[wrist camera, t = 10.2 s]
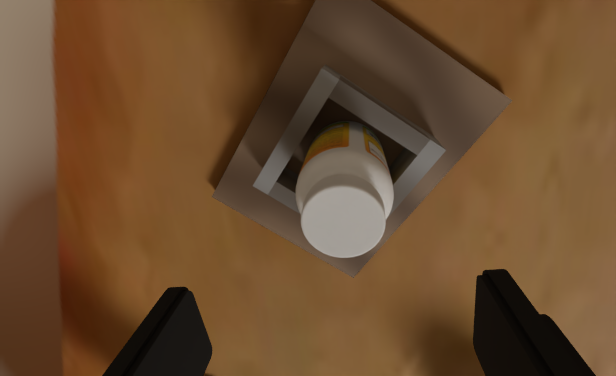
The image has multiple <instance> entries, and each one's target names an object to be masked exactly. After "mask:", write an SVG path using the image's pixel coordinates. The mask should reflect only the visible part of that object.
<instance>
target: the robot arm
mask: <svg viewBox="0 0 616 376" xmlns="http://www.w3.org/2000/svg"><path fill="white" fill-rule="evenodd" d="M473 344H474V349H475V352H476V355H477V357H478V359H479V361H480V364H481V366H482V368H483V371H484V373H485V375H486V376H596V375H595V374H594V373H593V371H592V370H591V369H590V368H589V366H588V365H587V364H586V362H585V361H584V360H583V359H582V357H581V356H580V355H579V353H578V352H577V351H576V349H575V348H574V347H573V346H572V344H571V343H570V342H569V340H568V339H567V338H566V336H565V335H564V334H563V333H562V331H561V330H560V329H559V327H558V326H557V325H556V324H555V322H554V321H553V320H552V319H551V318H550V317H549V316H547V315H546V314H539V313H538V312H537V311H536V309H535V308H534V306H533V305H532V304H531V302H530V301H529V300H528V298H527V297H526V296H525V294H524V293H523V292H522V290H521V289H520V288H519V286H518V285H517V283H516V282H515V281H514V279H513V278H512V277H511V275H510V274H509V273H508V271H507V270H505V269H496V270H484V271H483V274H482V275H478V276H477V281H476V298H475V316H474V333H473ZM211 356H212V345H211V343H210V340H209V337H208V334H207V331H206V329H205V326H204V323H203V320H202V317H201V315H200V312H199V309H198V306H197V304H196V301H195V298H194V295H193V293H192V292H191V291H189V290H188V288H186V287H170V288H168V289H167V290H166V291H165V292H164V293H163V295H162V296H161V297H160V299H159V300H158V301H157V303H156V304H155V306H154V307H153V308H152V310H151V311H150V312H149V314H148V315H147V316H146V318H145V319H144V320H143V322H142V323H141V324H140V326H139V327H138V328H137V330H136V331H135V332H134V334H133V335H132V336H131V338H130V339H129V340H128V342H127V343H126V345H125V346H124V347H123V349H122V350H121V351H120V353H119V354H118V355H117V357H116V358H115V359H114V361H113V362H112V363H111V365H110V366H109V367H108V369H107V370H106V371H105V373H104V374H103V375H102V376H203V375H204V373H205V370H206V368H207V366H208V364H209V361H210V359H211Z"/></svg>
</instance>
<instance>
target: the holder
mask: <svg viewBox="0 0 616 376" xmlns="http://www.w3.org/2000/svg"><path fill="white" fill-rule="evenodd" d="M511 101H512V100H511V99H509V98H508V97H507V96H505V95H504V94H502V93H501V92H500V91H498V90H497V89H495V88H494V87H492V86H491V85H490V84H488V83H487V82H485V81H484V80H483V79H481V78H480V77H478V76H477V75H476V74H474V73H473V72H471V71H470V70H469V69H467V68H466V67H464V66H463V65H461V64H460V63H459V62H457V61H456V60H454V59H453V58H452V57H450V56H449V55H447V54H446V53H445V52H443V51H442V50H440V49H439V48H437V47H436V46H435V45H433V44H432V43H430V42H429V41H428V40H426V39H425V38H423V37H422V36H421V35H419V34H418V33H416V32H415V31H414V30H412V29H411V28H409V27H408V26H406V25H405V24H404V23H402V22H401V21H399V20H398V19H397V18H395V17H394V16H392V15H391V14H390V13H388V12H387V11H385V10H384V9H383V8H381V7H380V6H378V5H377V4H375V3H374V2H373V1H371V0H315V2H314V4H313V6H312V8H311V10H310V12H309V13H308V15H307V17H306V19H305V21H304V23H303V25H302V27H301V29H300V30H299V32H298V34H297V36H296V38H295V40H294V42H293V44H292V46H291V48H290V49H289V51H288V53H287V55H286V57H285V59H284V61H283V63H282V65H281V66H280V68H279V70H278V72H277V74H276V76H275V78H274V80H273V82H272V84H271V85H270V87H269V89H268V91H267V93H266V95H265V97H264V99H263V101H262V103H261V104H260V106H259V108H258V110H257V112H256V114H255V116H254V118H253V120H252V121H251V123H250V125H249V127H248V129H247V131H246V133H245V135H244V137H243V139H242V140H241V142H240V144H239V146H238V148H237V150H236V152H235V154H234V156H233V158H232V159H231V161H230V163H229V165H228V167H227V169H226V171H225V173H224V175H223V176H222V178H221V180H220V182H219V184H218V186H217V188H216V190H215V192H214V194H213V195H212V197H213V198H215V199H217V200H218V201H220V202H222V203H224V204H225V205H227V206H229V207H231V208H232V209H234V210H236V211H238V212H239V213H241V214H243V215H245V216H246V217H248V218H250V219H252V220H253V221H255V222H257V223H259V224H260V225H262V226H264V227H266V228H267V229H269V230H271V231H273V232H274V233H276V234H278V235H280V236H281V237H283V238H285V239H287V240H288V241H290V242H292V243H294V244H295V245H297V246H299V247H301V248H302V249H304V250H306V251H308V252H309V253H311V254H313V255H315V256H316V257H318V258H320V259H321V260H323V261H325V262H327V263H328V264H330V265H332V266H334V267H335V268H337V269H339V270H341V271H342V272H344V273H346V274H348V275H349V276H351V277H353V278H354V276H355V275H356V274H357V273H358V272H359V271H360V270H361V269H362V268H363V266H364V265H365V264H366V263H367V262H368V261H369V260H370V259H371V257H372V256H373V255H374V254H375V253H376V252H377V251H378V250H379V249H380V247H381V246H382V245H383V244H384V243H385V242H386V241H387V240H388V239H389V237H390V236H391V235H392V234H393V233H394V232H395V231H396V230H397V228H398V227H399V226H400V225H401V224H402V223H403V222H404V221H405V220H406V218H407V217H408V216H409V215H410V214H411V213H412V212H413V211H414V210H415V208H416V207H417V206H418V205H419V204H420V203H421V202H422V201H423V200H424V198H425V197H426V196H427V195H428V194H429V193H430V192H431V191H432V189H433V188H434V187H435V186H436V185H437V184H438V183H439V182H440V181H441V179H442V178H443V177H444V176H445V175H446V174H447V173H448V172H449V171H450V169H451V168H452V167H453V166H454V165H455V164H456V163H457V162H458V160H459V159H460V158H461V157H462V156H463V155H464V154H465V153H466V152H467V150H468V149H469V148H470V147H471V146H472V145H473V144H474V143H475V142H476V140H477V139H478V138H479V137H480V136H481V135H482V134H483V133H484V132H485V130H486V129H487V128H488V127H489V126H490V125H491V124H492V123H493V121H494V120H495V119H496V118H497V117H498V116H499V115H500V114H501V113H502V111H503V110H504V109H505V108H506V107H507V106H508V105H509V104H510V103H511ZM340 121H353V122H357V123H360V124H363V125H365V126H366V127H368V128H369V129H370V130H372V131H373V132H374V134H375V135H376V136H377V138H378V139H379V141H380V143H381V146H382V148H383V152H384V155H385V159H386V162H387V166H388V169H389V172H390V176H391V179H392V183H393V191H394V200H393V205H392V209H391V211H390V214H389V216H388V217H387V219H386V225H385V231H384V233H383V236H382V238H381V239H380V241H379V242H378V243H377V245H376V246H375V247H373V248H372V249H371V250H369V251H368V252H366V253H364V254H362V255H359V256H355V257H349V258H339V257H333V256H329V255H327V254H324V253H322V252H320V251H319V250H317V249H316V248H314V247H313V246H312V245H311V244H310V243H309V242H308V240H307V239H306V237H305V235H304V233H303V231H302V227H301V214H300V212H299V210H298V206H297V202H296V184H297V180H298V177H299V174H300V171H301V168H302V166H303V163H304V161H305V158H306V155H307V153H308V150H309V147H310V145H311V143H312V141H313V139H314V138H315V136H316V135H317V134H318V132H319V131H321V130H322V129H323V128H324V127H326V126H328V125H330V124H332V123H335V122H340Z"/></svg>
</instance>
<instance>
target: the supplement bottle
mask: <svg viewBox="0 0 616 376" xmlns="http://www.w3.org/2000/svg"><path fill="white" fill-rule="evenodd" d="M393 200H394V191H393V183H392V179H391V176H390V172H389V169H388V166H387V162H386V159H385V155H384V152H383V148H382V146H381V143H380V141H379V139H378V138H377V136H376V135H375V134H374V132H373V131H372V130H370V129H369V128H368V127H366V126H365V125H363V124H360V123H357V122H353V121H340V122H335V123H332V124H330V125H328V126H326V127H324V128H323V129H322V130H321V131H319V132H318V134H317V135H316V136H315V138H314V139H313V141H312V143H311V145H310V147H309V150H308V153H307V155H306V158H305V161H304V163H303V166H302V168H301V171H300V174H299V177H298V180H297V184H296V202H297V206H298V210H299V212H300V214H301V227H302V231H303V233H304V235H305V237H306V239H307V240H308V242H309V243H310V244H311V245H312V246H313V247H314V248H316V249H317V250H319V251H320V252H322V253H324V254H327V255H329V256H333V257H339V258H349V257H355V256H359V255H362V254H364V253H366V252H368V251H369V250H371V249H372V248H373V247H375V246H376V245H377V243H378V242H379V241H380V239H381V238H382V236H383V233H384V231H385V225H386V219H387V217H388V216H389V214H390V211H391V209H392V205H393Z"/></svg>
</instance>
